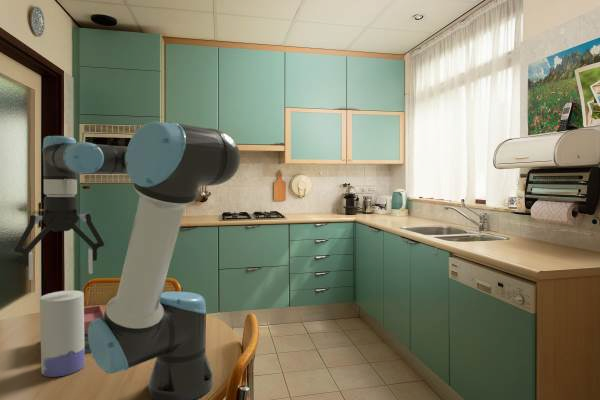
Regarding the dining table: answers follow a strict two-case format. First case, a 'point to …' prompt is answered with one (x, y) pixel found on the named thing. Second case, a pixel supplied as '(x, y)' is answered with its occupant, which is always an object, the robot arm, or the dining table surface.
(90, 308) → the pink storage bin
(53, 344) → the container
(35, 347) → the dining table surface
